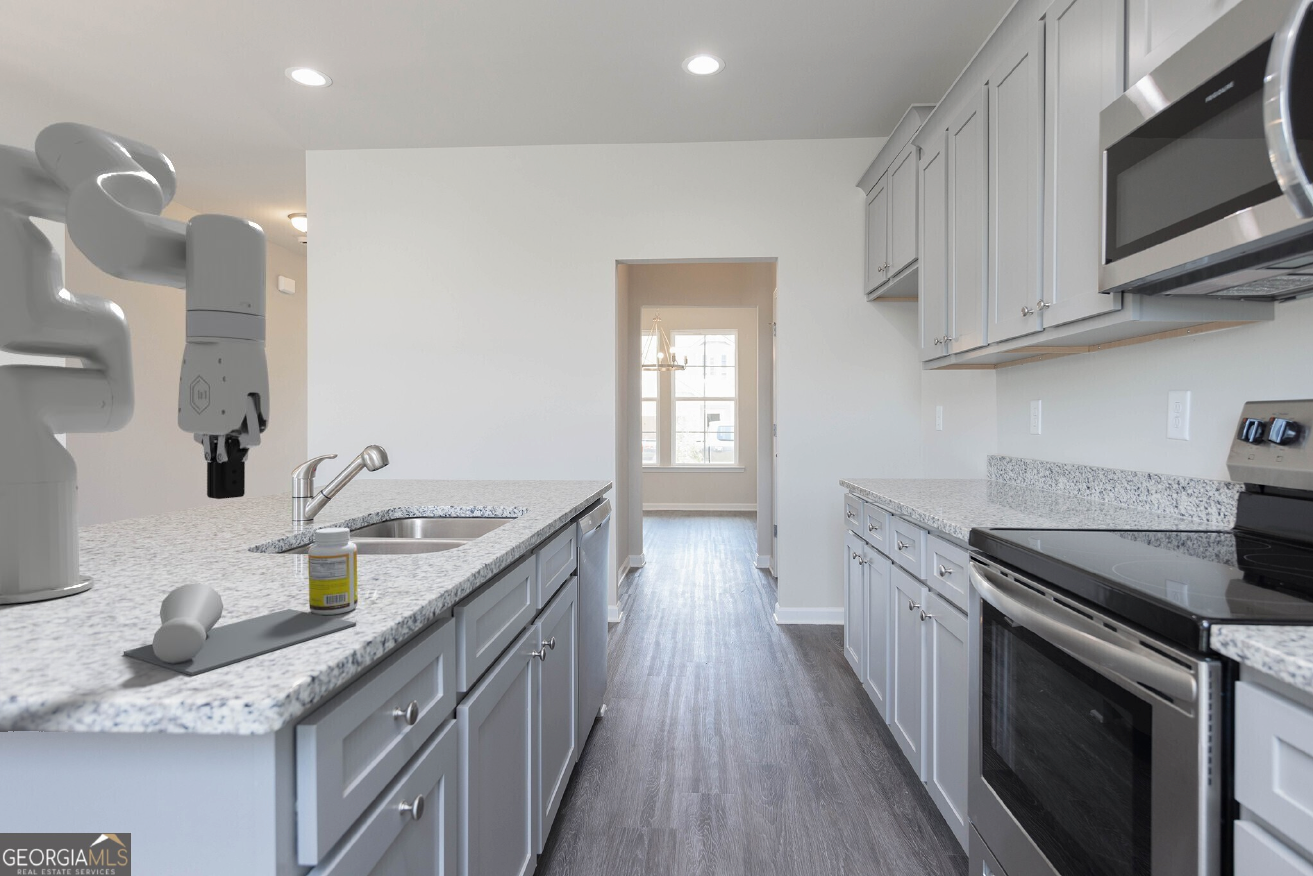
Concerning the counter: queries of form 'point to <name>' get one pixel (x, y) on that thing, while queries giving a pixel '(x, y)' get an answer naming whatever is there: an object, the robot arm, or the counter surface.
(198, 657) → the mat
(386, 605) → the counter surface
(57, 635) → the counter surface
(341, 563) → the supplement bottle
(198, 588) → the salt shaker
